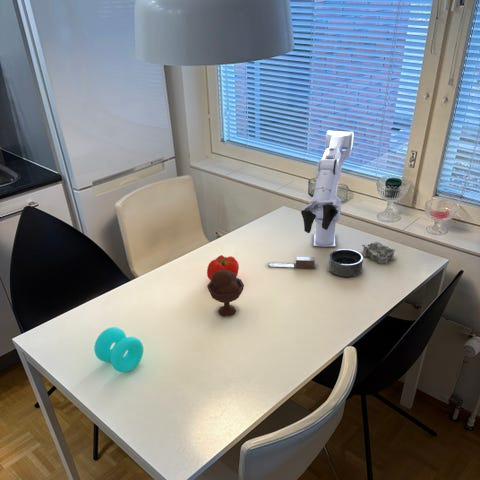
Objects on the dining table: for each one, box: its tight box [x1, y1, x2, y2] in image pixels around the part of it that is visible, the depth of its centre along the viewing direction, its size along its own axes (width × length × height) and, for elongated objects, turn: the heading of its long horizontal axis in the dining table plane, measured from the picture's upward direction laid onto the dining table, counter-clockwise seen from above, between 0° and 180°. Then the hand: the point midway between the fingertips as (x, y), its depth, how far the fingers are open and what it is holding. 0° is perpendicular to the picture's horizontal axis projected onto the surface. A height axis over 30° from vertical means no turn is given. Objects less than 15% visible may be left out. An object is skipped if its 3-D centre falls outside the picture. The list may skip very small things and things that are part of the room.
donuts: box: [93, 326, 144, 373], centre depth 133 cm, size 10×10×10 cm
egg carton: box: [361, 241, 397, 264], centre depth 176 cm, size 11×8×4 cm
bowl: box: [328, 248, 364, 278], centre depth 170 cm, size 11×11×5 cm
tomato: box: [206, 254, 240, 281], centre depth 165 cm, size 11×11×9 cm
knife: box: [268, 256, 316, 269], centre depth 173 cm, size 16×2×3 cm, turn 82°
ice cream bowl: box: [206, 270, 245, 317], centre depth 149 cm, size 11×11×15 cm
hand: (315, 230), depth 163 cm, fingers open, 7 cm apart
